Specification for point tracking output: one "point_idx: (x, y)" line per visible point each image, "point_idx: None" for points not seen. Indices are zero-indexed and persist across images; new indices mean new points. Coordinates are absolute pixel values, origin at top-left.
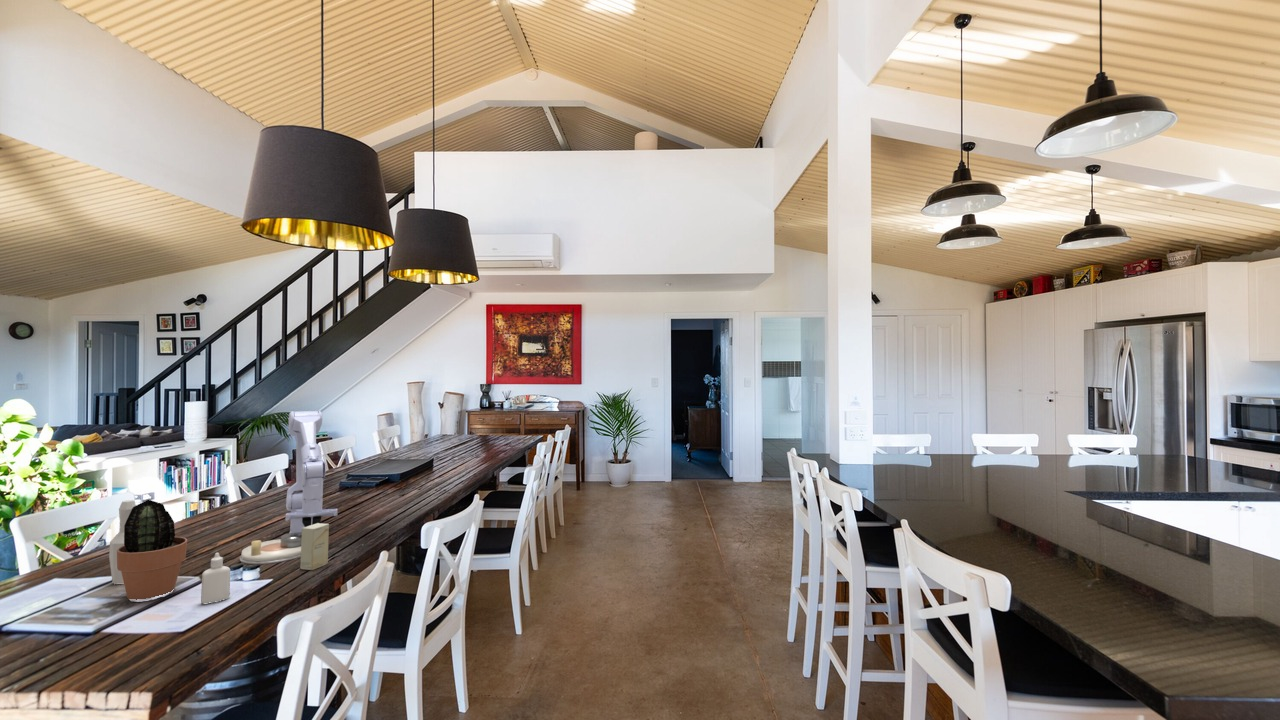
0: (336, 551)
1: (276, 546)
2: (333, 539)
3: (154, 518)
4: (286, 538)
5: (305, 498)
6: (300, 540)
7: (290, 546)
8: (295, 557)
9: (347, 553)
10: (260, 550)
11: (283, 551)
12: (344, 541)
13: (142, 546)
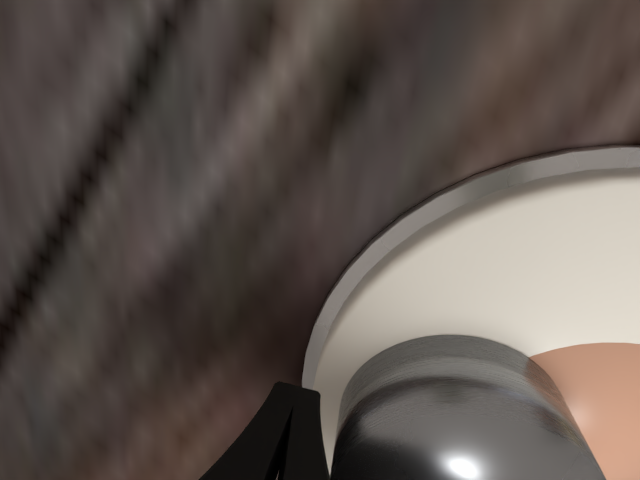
0: (123, 163)
1: None
2: (143, 467)
3: None
4: (584, 463)
5: None
6: (414, 385)
7: (510, 357)
8: (485, 173)
9: (24, 20)
10: None
11: (605, 280)
12: (72, 385)
13: None
